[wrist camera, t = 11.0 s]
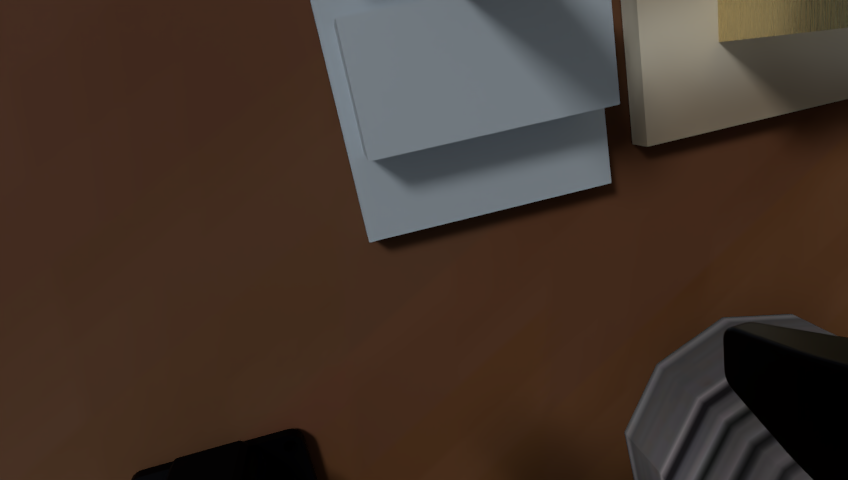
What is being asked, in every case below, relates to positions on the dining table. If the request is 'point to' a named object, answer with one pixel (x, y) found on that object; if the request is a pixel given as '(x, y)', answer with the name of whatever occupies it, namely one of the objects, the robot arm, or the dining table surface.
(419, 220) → the vise
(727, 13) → the brass sleeve
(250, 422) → the dining table surface
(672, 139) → the birch pad
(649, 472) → the can
